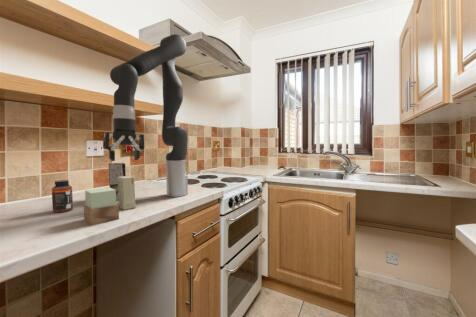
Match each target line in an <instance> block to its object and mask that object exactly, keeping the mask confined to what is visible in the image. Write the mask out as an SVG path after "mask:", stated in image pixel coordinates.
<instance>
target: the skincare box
mask: <svg viewBox="0 0 476 317" xmlns="http://www.w3.org/2000/svg"><path fill="white" fill-rule="evenodd" d="M135 185H136V184H135V176H132V175H131V176H130V175H126V176H122V177H118V193H119V200H118V205H119V208H120V209H122V210H125V211H126V210H130V209H135V208H136V190H135V189H136V186H135Z"/></svg>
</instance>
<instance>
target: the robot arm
mask: <svg viewBox="0 0 476 317" xmlns="http://www.w3.org/2000/svg"><path fill="white" fill-rule="evenodd" d="M186 51H187V42H186V40H185V39H184V37H183V36H182V35H180V34H176V33H174V34H171V35H168V36H166V37H163V38H162V39H161V40H160V43H159V46H157V47H153V48H152V49H149V50H147V51H145V52H142V53H140V54H137V55H136V56H134V57H133V58H132V59H129V60H128V61H125V62H123V63H120V64H118V65H116V66H114V67H113V68H112V69H111V70H110V72H109V78H110V80H111V81H112V83H113V84H115V85H117V86H118V88H117V89H116V90H115V91H114V94H113V111H112V112H113V114H112V116H113V118H112V119H113V120H112V122H113V130H112V131H113V132H112V133H111V132H104V133H103V142H102V143H103V144H102V145H103V146H102V148H103V149H104V150H108V154H109V155H108V158H109V160H110V162H115V161H116V155H115V154H116V153H115V149H116V148H117V147H118V146H122V145H123V146H124V145H126V146H131V147H132V148H133V150H134V152H133V153H134V154H133V155H134V159H133V160H134V161H139V159H140V158H141V156H140V152H141V151H142V150H144V149H145V136H144V134H137V132H136V109H135V96H136V92H137V87H138V82H139V77H141V76H144V75H147V74H148V73H150V72H151V71H153V70H155V69H156V68H157V67H159V66H160V65H161V74H162V102H163V103H162V109H163V110H162V112H163V113H162V128H161V139H162V141H163V143H164V145H166V146H169V147H172V150H171V151H170V152H168V153H167V154H165V166H166V167H165V171H166V172H165V174H166V175H165V176H166V177H165V179H166V182H165V183H166V197H170V198H171V197H172V198H174V197H175V198H177V197H179V198H180V197H183V196H185V195H188V194H189V190H188V189H189V187H188V185H189V183H188V180H189V179H188V178H189V177H188V175H187V168H186V167H187V166H186V165H187V164H186V163H187V161H186V159H187V158H186V157H187V153H188V132H187V129H186V128H184V127H182V126H176V118H177V115H178V112H179V110H180V108H181V106H182V104H183V99H184V92H183V89H184V88H183V84H182V83H183V82H182V81H181V79H180V77H179V76H178V74H177V71H176V67H175V66H176V58H178V57H182V56H183V55H184V54H185V53H186ZM111 138H113V140H114V141H113V142H112V143H111V144H110V139H111ZM136 139H137V141H138V143H137V142H136V141H135V140H136Z"/></svg>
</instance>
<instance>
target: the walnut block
mask: <svg viewBox="0 0 476 317" xmlns="http://www.w3.org/2000/svg"><path fill="white" fill-rule="evenodd" d="M119 208H120V207H119V203H116V205H113V206H108V207H102V208H97V209H90V208H89V207H88V206H86V204H83V216H84V220H85V222H86V223H88V225H90V226H95V225H100V224H104V223H109V222H113V221H117V220H120V212H119V210H120V209H119Z"/></svg>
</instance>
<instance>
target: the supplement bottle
mask: <svg viewBox="0 0 476 317" xmlns="http://www.w3.org/2000/svg"><path fill="white" fill-rule="evenodd" d="M54 185H55V186H54V187H52V188H51V198H52V199H51V200H52V212H53V213H66V212H70V211H71V210H73V209H74V202H73V201H74V200H73V197H74V196H73V187H72V185H70V184H69V179H62V180H60V179H59V180H55V181H54Z"/></svg>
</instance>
